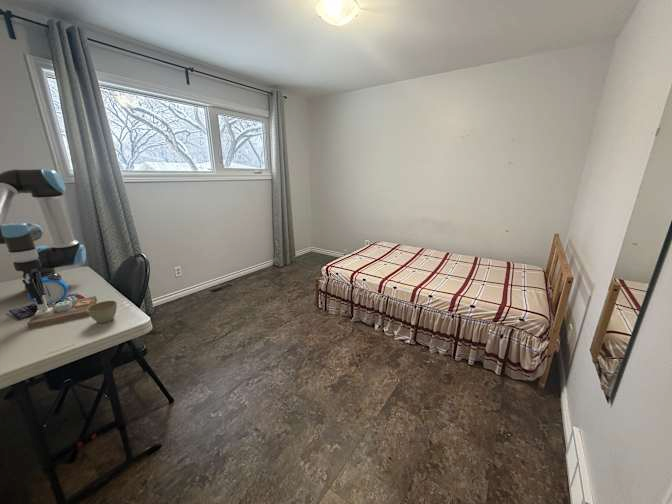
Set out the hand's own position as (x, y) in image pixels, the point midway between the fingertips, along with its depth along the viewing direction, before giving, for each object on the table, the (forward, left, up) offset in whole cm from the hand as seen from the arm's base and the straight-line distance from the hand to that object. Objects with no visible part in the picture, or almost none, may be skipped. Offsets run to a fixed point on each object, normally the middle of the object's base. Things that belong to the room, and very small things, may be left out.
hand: (43, 309), depth 120 cm
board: (0, +7, -4) cm, 8 cm away
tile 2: (0, +13, -3) cm, 14 cm away
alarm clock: (-18, -1, -4) cm, 19 cm away
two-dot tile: (0, +7, -2) cm, 7 cm away
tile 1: (0, 0, -3) cm, 3 cm away
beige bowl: (+19, +23, -4) cm, 30 cm away
